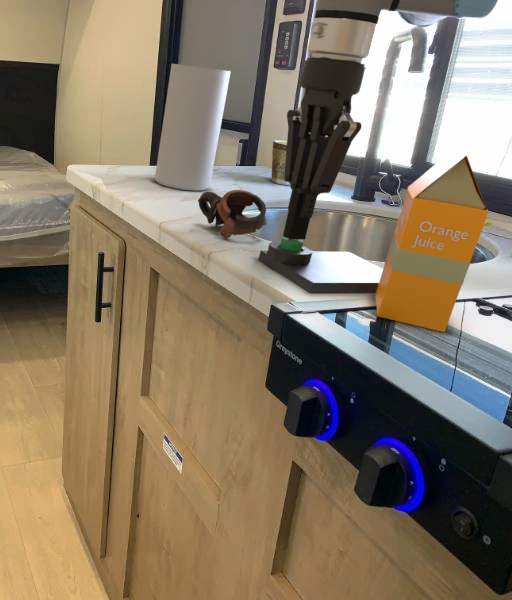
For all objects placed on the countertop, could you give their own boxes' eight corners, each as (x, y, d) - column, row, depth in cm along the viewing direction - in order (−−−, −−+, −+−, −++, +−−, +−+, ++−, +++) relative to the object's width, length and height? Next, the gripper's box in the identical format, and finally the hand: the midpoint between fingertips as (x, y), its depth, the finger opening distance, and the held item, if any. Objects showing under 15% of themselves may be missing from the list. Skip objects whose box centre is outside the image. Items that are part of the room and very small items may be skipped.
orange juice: (437, 308, 78) (492, 152, 70) (445, 332, 70) (509, 160, 62) (373, 293, 80) (420, 141, 72) (375, 316, 72) (428, 147, 65)
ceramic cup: (298, 189, 149) (308, 148, 145) (259, 181, 153) (268, 141, 150) (311, 183, 159) (320, 145, 156) (275, 176, 164) (283, 138, 160)
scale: (346, 260, 94) (351, 242, 92) (407, 292, 82) (414, 271, 81) (255, 259, 88) (259, 239, 87) (307, 293, 77) (312, 271, 76)
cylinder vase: (153, 176, 141) (170, 63, 132) (206, 183, 141) (226, 70, 132) (155, 186, 130) (173, 63, 120) (212, 194, 130) (234, 71, 120)
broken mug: (263, 234, 104) (279, 200, 98) (242, 268, 99) (258, 233, 92) (202, 204, 107) (214, 168, 100) (178, 235, 101) (189, 199, 95)
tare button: (292, 247, 87) (295, 236, 86) (304, 254, 84) (307, 242, 84) (275, 247, 86) (277, 235, 85) (286, 254, 83) (289, 242, 83)
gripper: (282, 53, 80) (247, 224, 89) (345, 57, 69) (297, 252, 78) (329, 60, 83) (290, 225, 91) (396, 64, 71) (345, 252, 80)
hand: (293, 237), depth 84 cm, fingers closed
